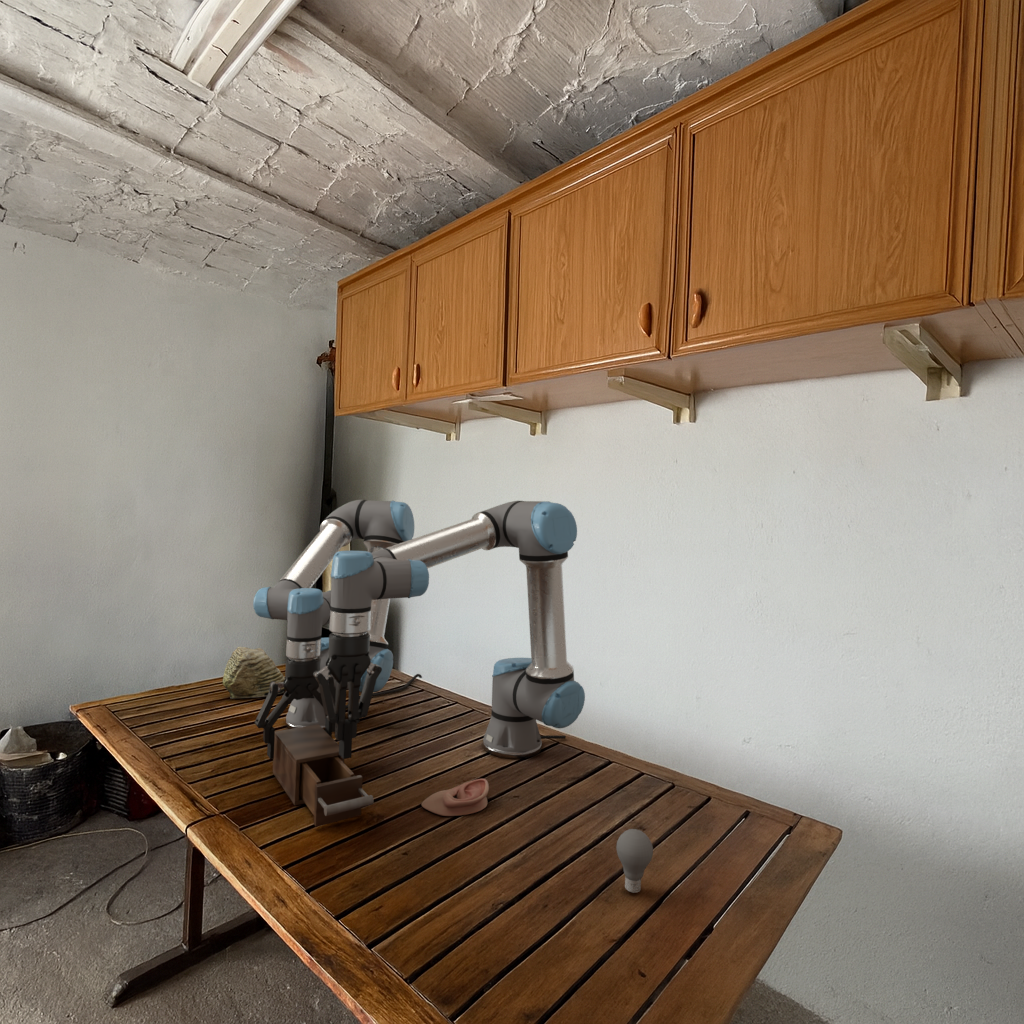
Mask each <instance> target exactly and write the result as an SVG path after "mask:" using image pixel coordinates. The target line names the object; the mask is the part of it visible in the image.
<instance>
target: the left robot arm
mask: <svg viewBox="0 0 1024 1024" xmlns="http://www.w3.org/2000/svg"><path fill="white" fill-rule="evenodd" d="M413 513H414V512H413V511H412V508H411V507H410V505H409V504H408V503H406V502H403V501H396V500H373V499H356V500H355V499H354V500H351V501H349V502H346V503H345V504H343V505H341V506H339V507H337V508H336V509H334V510H333V511H332V512H331V513H329V515H327V516H326V517H325V518H324V519H323V521H322V522H321V523H320V526H319V532H318V533H317V534H316V535H315V536H314V537H313V539H312V540H311V541H310V543H309V544H308V545H307V546H306V547H305V548H304V550H303V551H302V552H301V553H300V554H299V555H298V557H297V558H296V560H294V562H293V563H292V564H291V566H290V567H289V568H288V569H287V570H286V572H285V573H284V574H283V575H282V577H280V579H279V580H278V581H277V583H276V584H275V585H274V586H273V587H271V586H268V587H267V586H265V587H262V588H259V589H258V590H257V592H256V593H255V595H254V596H253V602H252V603H253V605H252V606H253V610H254V613H255V614H256V616H258V617H259V618H264V619H270V620H279V621H280V620H282V621H287V623H286V624H287V627H286V629H287V630H286V631H287V632H286V645H285V646H286V647H285V656H286V657H287V658H286V659H285V672H284V675H285V676H284V677H285V680H284V682H275V681H272V682H271V683H270V689H269V693H268V695H267V696H265V700H264V702H263V704H262V705H261V708H260V710H259V712H258V714H257V716H256V718H255V720H254V725H255V726H256V727H257V728H258V729H263V730H262V731H263V734H262V740H263V742H264V744H267V749H266V750H267V753H266V754H267V757H268V758H269V760H273V759H274V739H275V731H276V729H275V727H273V726H274V725H275V724H276V722H277V721H278V719H279V718H280V717H281V715H282V714H283V713H284V712H285V710H286V709H287V707H288V706H289V708H288V711H287V713H286V715H285V726H286V728H287V729H293V728H299V727H305V726H311V725H317V724H319V725H320V726H321V727H322V728H323V729H324V730H325V731H326V732H327V733H328V734H329V735H330V736H331V737H332V738H333V733H335V723H334V722H333V723H331V722H330V721H329V720H328V719H327V718H326V717H325V712H324V708H323V703H322V698H321V693H320V689H319V684H318V682H317V680H316V679H315V677H314V676H313V673H314V672H315V671H320V670H321V669H322V668H324V667H325V666H326V661H327V659H328V657H329V637H322V632H323V631H322V630H323V627H324V626H327V625H330V608H331V589H330V590H328V591H323V590H321V589H319V588H314V587H313V586H314V585H315V584H316V582H317V581H318V580H319V578H320V577H321V576H322V574H323V573H324V572H325V570H326V569H327V567H328V566H329V565H330V564H331V563H332V562H333V557H334V555H335V553H337V552H339V551H341V549H342V548H344V547H346V546H348V545H349V544H350V543H351V542H352V541H353V540H363V545H364V546H365V548H366V549H367V551H368V552H371V553H372V552H375V551H378V550H382V549H385V548H388V547H391V546H394V545H396V544H399V543H402V542H405V541H408V540H411V539H414V536H415V519H414V514H413ZM390 603H391V599H378V600H372V602H371V619H370V630H369V631H368V632H367V633H369V635H370V646H369V657H370V659H371V663H373V664H376V665H378V666H380V667H381V668H382V671H381V673H380V674H379V676H378V678H377V679H376V683H375V687H374V691H373V695H372V698H373V697H380V696H384V695H390V694H394V693H399V692H400V691H404V690H406V689H407V688H408V687H409V686H410V684H412V683H413V682H414V681H415V680H416V679H417V678H419V679H422V678H423V676H422V674H421V673H416V674H415V675H414V676H413V677H411V679H410V680H409V681H407V683H406V684H405V685H403V686H400V687H399V688H394V689H390V690H384V691H381V690H382V689H383V688H384V687H385V685H386V684H387V683H388V681H389V679H390V677H391V675H392V671H393V668H394V654H393V651H392V650H390V649H388V647H389V642H388V641H387V639H386V638H385V633H386V626H387V621H388V615H389V608H390ZM366 675H367V670H366V671H365V673H364V674H363V676H362V677H361V685H360V687H359V693H362V689H363V686H364V682H365V678H366ZM328 676H329V678H328V680H327V682H328V684H329V688H330V693H331V697H332V702H333V707H334V712H335V696H336V685H335V679H334V677H333V676H332V675H331V673H330V672H329V673H328ZM282 688H284V689H285V691H284V693H283V695H282V696H281V699H280V700H279V701H278V703H277V704H276V706H275V707H274V708H273V709H272V707H273V705H274V703H275V701H276V699H277V696H278V695H279V694H278V693H279V692H280V691H281V689H282ZM346 691H349V683H348V686H347V689H346ZM360 697H361V694H359V700H360ZM346 709H347V710H348V704H346ZM271 710H272V711H271Z"/></svg>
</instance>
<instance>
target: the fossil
mask: <svg viewBox="0 0 1024 1024" xmlns="http://www.w3.org/2000/svg"><path fill="white" fill-rule="evenodd" d="M222 676H223V677H222V685H223V687H224V688H225V690H226V691H228V693H229V698H230V699H250V698H264V697H265V698H266V697H267V695H268V693H269V689H270V683H271V682H272V681H275V682H284V680H285V676H284V674H283V673H282V672H281V669H279V668H278V667H277V665H276V663H275V662H274V660H273V659H272V658H271V657H270V656H269V655H268V654H267V653H266V652H265V650H264V649H263V648H260V647H258V648H251V647H247V646H246V647H245V646H238V647H237V648H236V649H235V650H233V651H232V653H231V656H230V657H229V659H228V660H227V663H226V666H225V668H224V671H223V675H222ZM285 692H286V690H285V689H284V688H282V689H281V691H280V692H279V693H278V694H277V695H281V694H284V693H285Z"/></svg>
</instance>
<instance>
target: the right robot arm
mask: <svg viewBox="0 0 1024 1024" xmlns="http://www.w3.org/2000/svg"><path fill="white" fill-rule="evenodd" d="M577 536H578V526H577V522H576V518H575V516H574V514H573V512H572V511H571V510H569V509H568V508H567V507H566V506H565V505H564V504H561V503H558V502H553V501H552V502H551V501H548V500H547V501H545V500H544V501H543V500H539V501H538V500H536V501H535V500H513V501H508V502H505V503H502V504H499V505H496V506H493V507H490V508H488V509H485V510H482V511H479V512H476V513H474V514H473V515H472V516H471V519H468V520H465V521H461V522H459V523H456V524H453V525H450V526H447V527H444V528H441V529H439V530H436V531H432V532H429V533H426V534H422V535H421V536H418V537H415V538H414V537H413V538H412V539H411V540H408V541H405V542H402V543H399V544H396V545H394V546H391V547H388V548H385V549H382V550H378V551H375V552H372V553H371V552H368V550H367V551H366V550H339V551H338V552H337V553H335V555H334V557H333V559H332V561H331V572H330V585H331V586H330V590H331V608H330V623H329V627H328V628H329V632H331V633H330V634H329V635H328V638H329V657H328V659H327V661H326V666H325V667H324V668H322V669H321V670H320V671H315V672H314V673H313V676H314V677H315V679H316V680H317V682H318V684H319V689H320V693H321V698H322V703H323V708H324V712H325V717H326V718H327V719H328V720H329V721H330V722H331V723H333V722H334V723H335V732H334V738H335V739H336V741H337V742H338V744H339V755H340V756H341V757H342V758H343V759H344V760H345V759H351V758H352V750H353V747H352V746H353V739H356V738H357V735H358V724H359V723H360V721H361V720H360V719H363V718H366V717H367V716H368V714H369V710H370V705H371V702H372V698H373V697H372V695H373V693H374V692H373V691H374V687H375V683H376V679H377V678H378V676H379V674H380V673H381V671H382V668H381V667H380V666H378V665H376V664H373V663H371V659H370V657H369V646H370V635H369V633H367V632H368V631H369V630H370V619H371V602H372V600H378V599H390V600H391V599H411V598H415V597H421V596H423V595H425V593H426V592H427V591H428V588H429V584H430V572H429V569H430V568H433V567H436V566H439V565H441V564H443V563H446V562H449V561H452V560H455V559H457V558H460V557H463V556H465V555H469V554H471V553H473V552H476V551H479V550H484V551H491V550H494V549H497V548H517V549H518V556H519V557H518V558H519V561H520V562H521V563H522V564H523V565H524V566H525V569H526V584H527V585H526V589H527V604H528V608H527V609H528V620H529V621H528V623H529V624H528V626H529V641H530V657H508V658H503V659H499V660H497V661H495V663H494V665H493V671H492V684H491V686H492V687H491V715H490V719H489V722H488V724H487V727H486V731H485V733H484V735H483V739H482V748H483V750H484V751H485V752H487V753H488V754H490V755H493V756H495V757H499V758H503V759H514V760H515V759H527V758H531V757H535V756H536V755H538V754H540V753H541V751H542V745H543V744H542V743H543V741H542V740H566V738H567V737H566V735H550V734H549V735H541V733H540V729H539V726H538V722H540V723H543V724H544V725H545V726H547V727H552V728H555V729H565V728H568V727H570V726H571V725H572V724H574V723H575V721H577V719H578V718H579V716H580V714H581V713H582V711H583V709H584V705H585V702H586V693H585V690H584V687H583V686H582V685H581V683H579V682H578V681H576V680H575V672H574V671H575V670H574V666H573V665H572V664H571V663H570V662H569V661H568V657H567V656H568V654H567V636H566V635H567V634H566V616H565V615H566V614H565V597H564V577H563V575H564V574H563V573H564V572H563V564H564V563H565V562H566V561H567V559H568V558H569V551H570V550H571V549H573V547H574V545H575V543H574V542H576V541H577V538H578V537H577ZM366 670H367V675H366V678H365V682H364V686H363V689H362V692H360V691H359V687H360V685H361V677H362V676H363V674H364V673H365V671H366ZM329 672H330V673H331V675H332V676H333V677H334V679H335V685H336V696H335V712H334V707H333V702H332V697H331V693H330V688H329V684H328V682H327V680H328V678H329V676H328V673H329ZM348 683H349V690H348V696H347V690H346V689H347V686H348ZM360 693H361V694H360ZM360 695H361V697H360V699H359V696H360ZM347 697H348V698H347ZM347 699H348V701H347ZM346 705H348V708H347V718H346ZM537 721H538V722H537Z"/></svg>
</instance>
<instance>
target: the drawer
mask: <svg viewBox="0 0 1024 1024" xmlns="http://www.w3.org/2000/svg"><path fill="white" fill-rule="evenodd" d="M363 778H364V777H363V775H361V774H358V775H355V773H354V772H353V771H352V770H351V769H350V768H349V767H348V766H347V764H345V762H344V763H343V762H342V761H341V759H340V758H339V757H338V756H334V757H328V758H323V759H318V760H313V761H308V762H303V763H300V782H299V795H300V797H301V798H302V800H303V801H304V802H305V803H304V804H305V805H306V807H307V808H308V809H309V811H310V812H311V814H312V816H313V825H314V827H316V828H317V827H321V826H324V825H329V824H332V823H335V822H340V821H344V820H348V819H352V818H356V817H359V816H362V808H364V807H368V806H373V804H374V802H375V801H374V796H373V795H372V794H367V792H366V791H365V790H364V789H363Z"/></svg>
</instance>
